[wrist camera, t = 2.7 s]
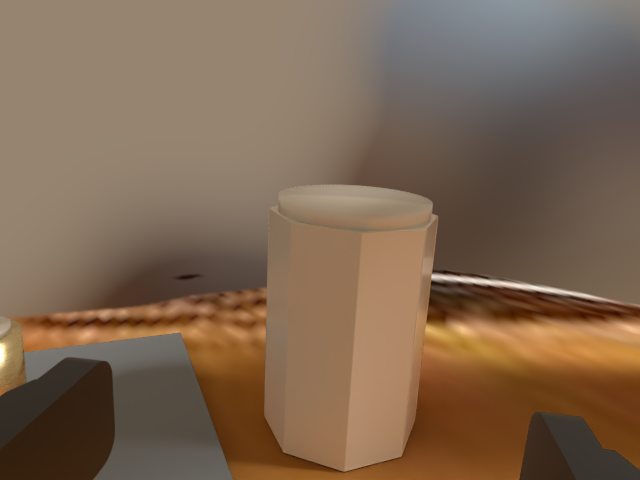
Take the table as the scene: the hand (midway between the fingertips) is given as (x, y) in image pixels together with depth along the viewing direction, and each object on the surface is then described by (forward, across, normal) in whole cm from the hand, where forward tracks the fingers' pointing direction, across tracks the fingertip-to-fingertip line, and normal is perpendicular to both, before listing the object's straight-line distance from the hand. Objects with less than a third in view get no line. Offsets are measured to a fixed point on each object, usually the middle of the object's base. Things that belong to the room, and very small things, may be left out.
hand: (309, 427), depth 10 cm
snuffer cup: (+12, 0, +7) cm, 14 cm away
